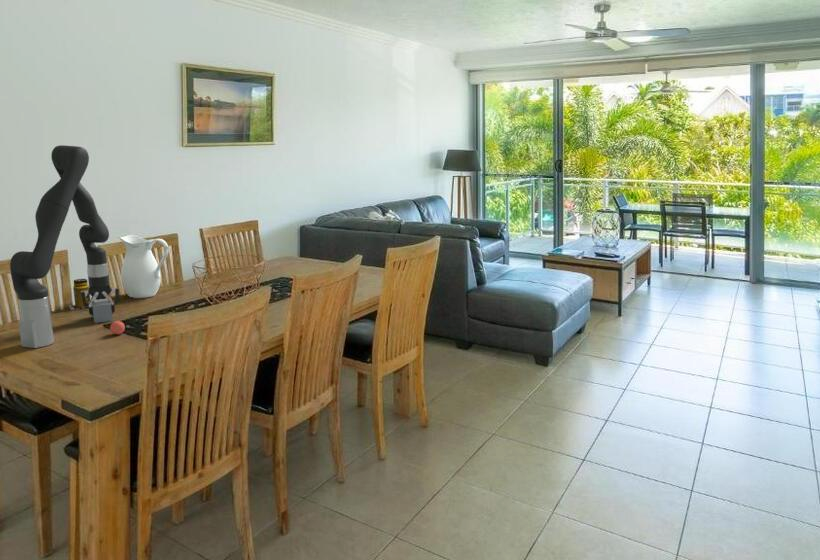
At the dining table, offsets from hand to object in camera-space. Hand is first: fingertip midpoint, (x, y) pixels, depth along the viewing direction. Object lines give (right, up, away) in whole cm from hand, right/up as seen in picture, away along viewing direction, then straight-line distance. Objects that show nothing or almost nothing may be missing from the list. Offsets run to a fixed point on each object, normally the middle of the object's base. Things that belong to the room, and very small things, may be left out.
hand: (102, 314), depth 253 cm
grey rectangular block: (0, -2, 0) cm, 2 cm away
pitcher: (+3, +6, +37) cm, 38 cm away
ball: (+15, -4, -20) cm, 25 cm away
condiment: (-18, +2, +18) cm, 26 cm away
